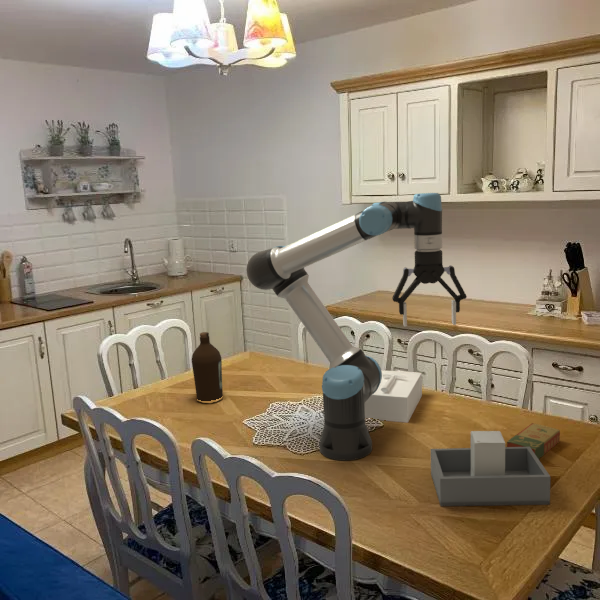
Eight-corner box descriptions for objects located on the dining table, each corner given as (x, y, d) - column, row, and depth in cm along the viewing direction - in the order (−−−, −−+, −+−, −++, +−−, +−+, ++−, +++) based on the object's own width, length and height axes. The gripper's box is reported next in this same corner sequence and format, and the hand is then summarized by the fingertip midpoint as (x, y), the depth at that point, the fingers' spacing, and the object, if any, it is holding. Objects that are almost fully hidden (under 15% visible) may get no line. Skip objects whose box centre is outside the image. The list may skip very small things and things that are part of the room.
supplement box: (505, 492, 148) (506, 443, 145) (473, 491, 149) (473, 442, 146) (500, 477, 155) (501, 430, 152) (470, 477, 156) (470, 430, 153)
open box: (440, 506, 145) (440, 478, 144) (430, 473, 161) (430, 448, 159) (549, 504, 143) (550, 476, 142) (529, 471, 159) (529, 446, 157)
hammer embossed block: (422, 396, 217) (421, 366, 215) (407, 423, 194) (407, 390, 192) (381, 393, 222) (380, 364, 220) (363, 419, 200) (362, 387, 197)
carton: (560, 443, 175) (560, 429, 174) (535, 463, 164) (535, 448, 163) (531, 435, 181) (531, 422, 180) (505, 455, 170) (506, 440, 169)
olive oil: (196, 406, 219) (189, 338, 214) (194, 396, 229) (188, 331, 224) (226, 402, 221) (220, 334, 216) (223, 392, 231) (217, 328, 226)
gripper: (383, 253, 167) (385, 329, 171) (477, 249, 165) (477, 326, 170) (381, 250, 175) (384, 323, 179) (471, 246, 173) (471, 319, 177)
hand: (429, 324), depth 174 cm, fingers open, 13 cm apart
